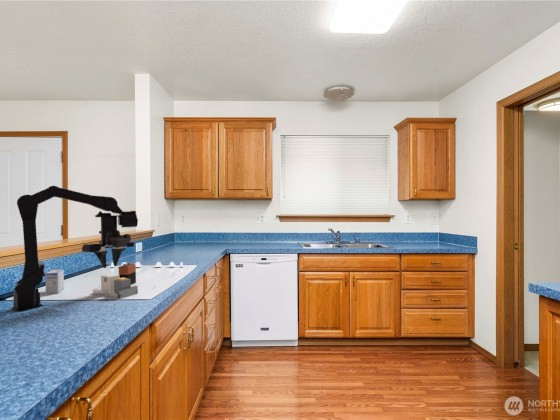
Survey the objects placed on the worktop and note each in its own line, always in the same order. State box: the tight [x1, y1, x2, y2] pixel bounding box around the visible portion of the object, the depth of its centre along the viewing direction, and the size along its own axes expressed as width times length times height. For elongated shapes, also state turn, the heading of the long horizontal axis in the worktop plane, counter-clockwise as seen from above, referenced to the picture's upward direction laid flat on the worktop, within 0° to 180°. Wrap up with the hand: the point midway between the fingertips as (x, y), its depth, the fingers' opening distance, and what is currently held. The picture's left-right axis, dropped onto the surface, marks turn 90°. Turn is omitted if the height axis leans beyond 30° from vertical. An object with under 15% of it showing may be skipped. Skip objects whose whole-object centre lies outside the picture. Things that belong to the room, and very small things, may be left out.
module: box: [100, 273, 120, 293], centre depth 126 cm, size 4×6×7 cm
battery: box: [118, 262, 137, 286], centre depth 139 cm, size 4×7×10 cm, turn 175°
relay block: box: [114, 278, 132, 293], centre depth 122 cm, size 4×4×6 cm
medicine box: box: [44, 269, 65, 295], centre depth 131 cm, size 8×4×9 cm, turn 21°
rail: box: [92, 285, 139, 300], centre depth 124 cm, size 8×17×4 cm, turn 62°
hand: (110, 266), depth 126 cm, fingers open, 4 cm apart
